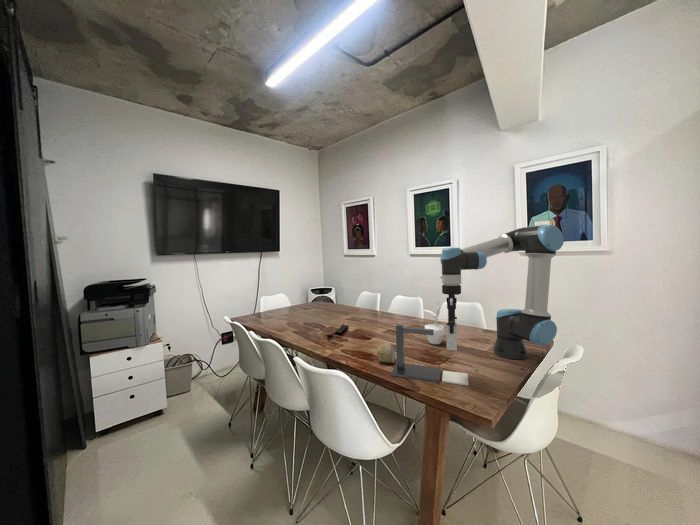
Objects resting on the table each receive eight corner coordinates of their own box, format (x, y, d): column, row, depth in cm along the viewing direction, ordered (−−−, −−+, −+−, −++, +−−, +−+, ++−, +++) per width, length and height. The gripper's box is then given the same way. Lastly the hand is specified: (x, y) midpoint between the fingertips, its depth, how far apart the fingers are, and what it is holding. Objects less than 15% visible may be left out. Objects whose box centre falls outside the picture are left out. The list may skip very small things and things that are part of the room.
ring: (457, 343, 118) (456, 323, 118) (457, 350, 110) (456, 328, 110) (447, 342, 120) (447, 322, 119) (446, 349, 111) (446, 327, 111)
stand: (441, 370, 123) (440, 324, 122) (439, 382, 112) (438, 332, 111) (397, 365, 130) (396, 321, 129) (391, 375, 119) (390, 328, 118)
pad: (467, 375, 118) (467, 373, 118) (468, 385, 108) (468, 384, 108) (443, 371, 121) (443, 370, 121) (442, 381, 112) (442, 380, 112)
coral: (398, 352, 127) (379, 342, 130) (390, 370, 130) (371, 360, 133) (402, 344, 136) (384, 335, 139) (394, 361, 139) (377, 351, 142)
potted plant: (447, 341, 162) (446, 299, 161) (442, 347, 152) (441, 303, 151) (426, 338, 169) (425, 298, 168) (420, 344, 159) (419, 301, 158)
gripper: (443, 281, 125) (443, 329, 126) (440, 287, 105) (441, 344, 106) (460, 281, 123) (461, 331, 123) (461, 287, 102) (461, 346, 103)
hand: (452, 337), depth 115 cm, fingers closed on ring, 9 cm apart
